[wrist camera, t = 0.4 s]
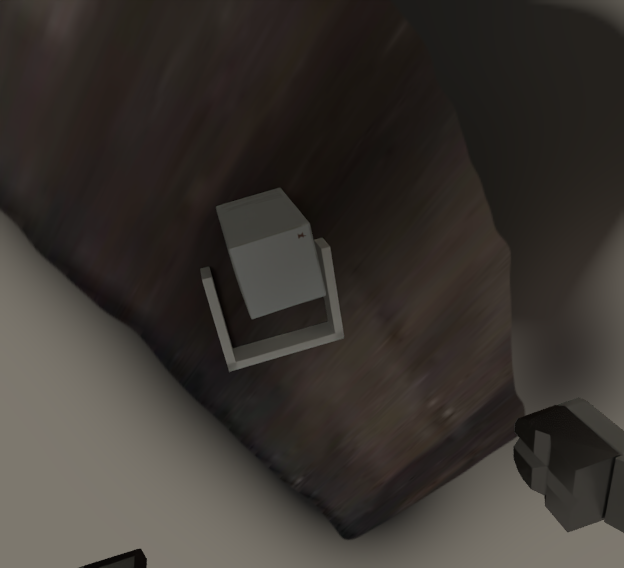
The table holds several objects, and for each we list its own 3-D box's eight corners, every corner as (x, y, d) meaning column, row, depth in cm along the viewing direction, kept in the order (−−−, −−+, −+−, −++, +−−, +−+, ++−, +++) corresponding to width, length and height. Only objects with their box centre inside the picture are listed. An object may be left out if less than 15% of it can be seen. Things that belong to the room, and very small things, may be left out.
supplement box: (213, 204, 50) (226, 246, 39) (281, 185, 51) (312, 221, 40) (233, 267, 54) (250, 321, 43) (296, 248, 55) (329, 296, 44)
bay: (200, 268, 53) (201, 279, 50) (322, 237, 55) (330, 246, 52) (226, 357, 58) (229, 371, 56) (336, 325, 61) (344, 338, 58)
